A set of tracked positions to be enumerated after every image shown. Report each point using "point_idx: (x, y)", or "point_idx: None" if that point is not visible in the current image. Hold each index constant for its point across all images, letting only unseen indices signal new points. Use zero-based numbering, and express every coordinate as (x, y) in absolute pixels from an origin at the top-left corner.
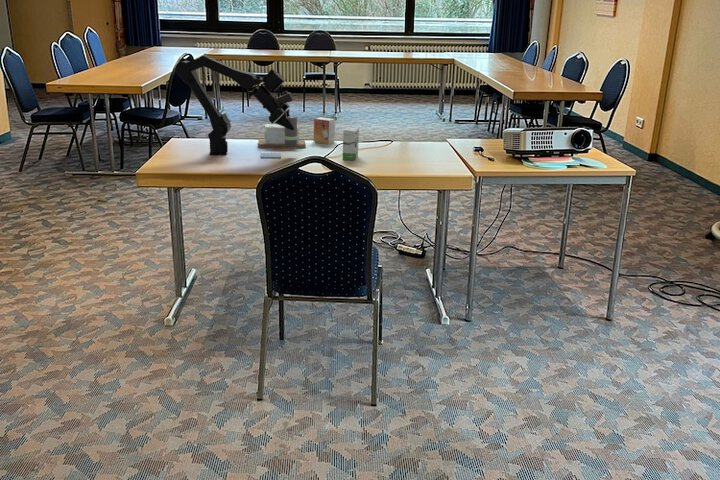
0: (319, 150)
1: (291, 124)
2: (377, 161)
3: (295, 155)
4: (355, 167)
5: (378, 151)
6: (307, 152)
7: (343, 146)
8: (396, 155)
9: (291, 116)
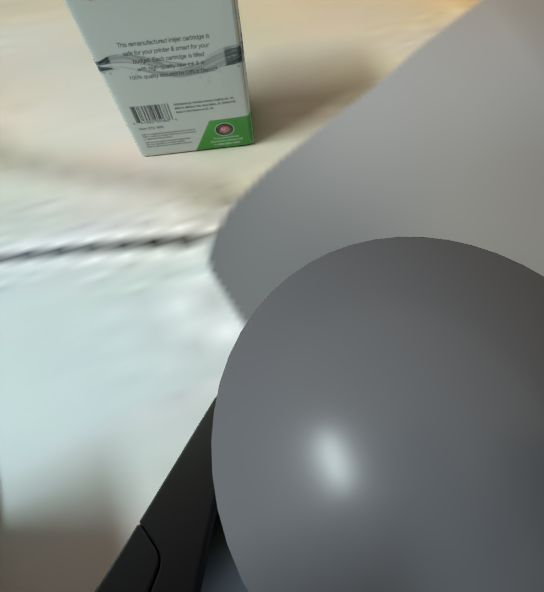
0: (40, 331)
1: None
2: None
3: None
4: (381, 63)
5: (4, 74)
6: (129, 383)
7: (245, 74)
8: None
9: (264, 488)
